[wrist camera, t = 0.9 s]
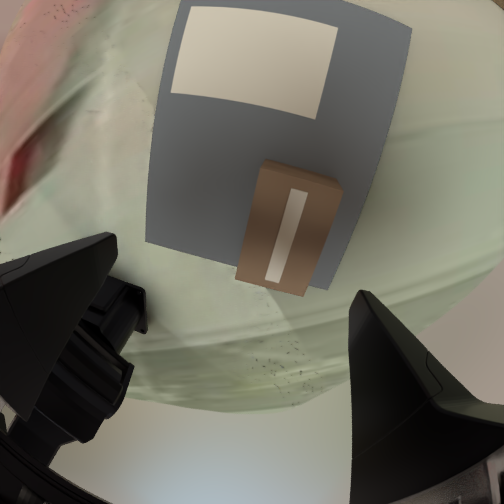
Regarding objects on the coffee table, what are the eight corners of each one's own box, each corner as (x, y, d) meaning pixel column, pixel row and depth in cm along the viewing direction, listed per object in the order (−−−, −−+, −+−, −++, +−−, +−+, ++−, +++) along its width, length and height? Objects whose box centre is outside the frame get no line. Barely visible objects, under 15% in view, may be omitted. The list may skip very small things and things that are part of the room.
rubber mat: (327, 286, 23) (327, 290, 22) (147, 238, 23) (144, 242, 22) (409, 29, 11) (412, 28, 11) (189, -17, 12) (186, -20, 11)
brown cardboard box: (303, 273, 22) (303, 297, 19) (242, 257, 22) (234, 280, 19) (336, 178, 18) (344, 192, 15) (265, 158, 18) (259, 168, 15)
